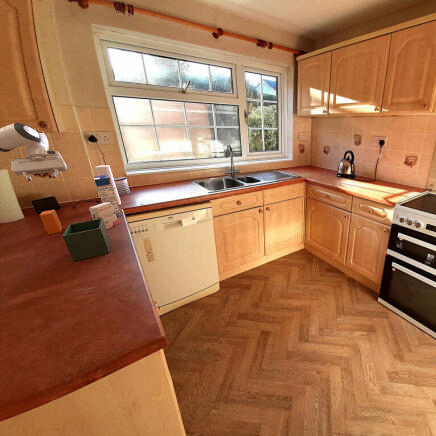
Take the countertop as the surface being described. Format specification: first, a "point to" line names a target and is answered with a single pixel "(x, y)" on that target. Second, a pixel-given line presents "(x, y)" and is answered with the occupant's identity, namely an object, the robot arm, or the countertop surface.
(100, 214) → the ink box
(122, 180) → the can
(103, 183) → the beverage box
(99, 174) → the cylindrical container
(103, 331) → the countertop surface
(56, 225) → the block
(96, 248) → the dark green open box
